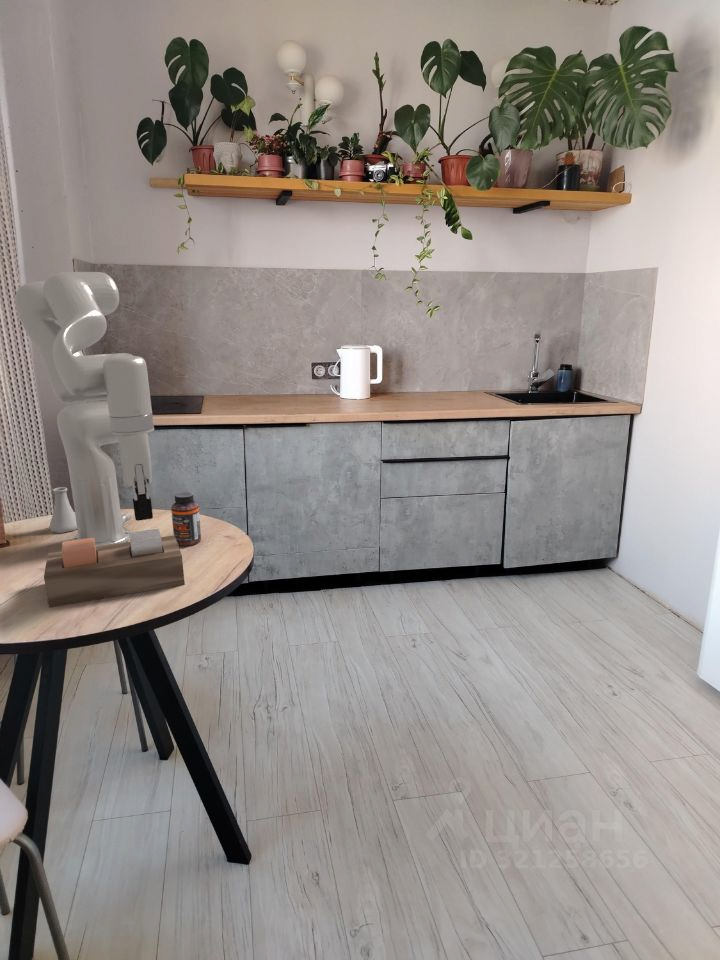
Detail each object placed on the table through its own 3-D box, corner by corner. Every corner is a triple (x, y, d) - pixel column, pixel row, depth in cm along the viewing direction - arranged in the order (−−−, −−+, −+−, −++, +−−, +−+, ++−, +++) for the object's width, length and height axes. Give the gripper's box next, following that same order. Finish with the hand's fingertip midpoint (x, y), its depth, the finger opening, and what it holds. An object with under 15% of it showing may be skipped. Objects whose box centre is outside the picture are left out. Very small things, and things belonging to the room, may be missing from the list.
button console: (52, 581, 131) (47, 553, 130) (177, 562, 140) (174, 535, 138) (48, 607, 121) (43, 576, 119) (184, 584, 129) (181, 555, 127)
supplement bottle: (170, 546, 149) (165, 497, 145) (180, 537, 154) (175, 490, 151) (196, 547, 148) (191, 498, 145) (205, 537, 154) (201, 490, 150)
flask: (72, 521, 167) (66, 483, 164) (87, 527, 162) (82, 487, 159) (43, 529, 161) (37, 489, 159) (58, 535, 157) (52, 495, 154)
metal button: (131, 556, 133) (128, 532, 131) (161, 552, 135) (158, 528, 133) (133, 566, 128) (130, 542, 126) (163, 561, 130) (161, 537, 128)
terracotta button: (66, 566, 129) (62, 541, 127) (97, 561, 131) (94, 537, 129) (65, 577, 124) (61, 552, 122) (97, 572, 126) (94, 547, 124)
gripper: (109, 420, 129) (121, 511, 134) (111, 432, 116) (125, 533, 120) (150, 416, 132) (160, 505, 136) (156, 428, 118) (168, 526, 123)
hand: (144, 518), depth 128 cm, fingers closed
